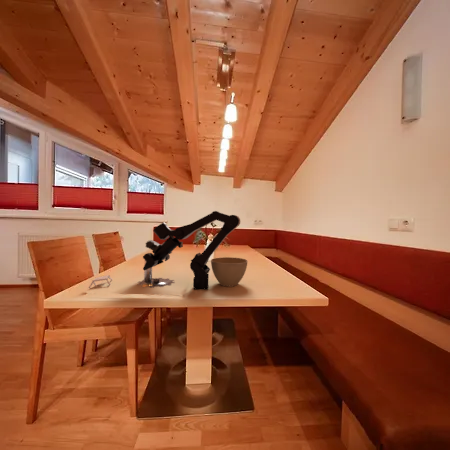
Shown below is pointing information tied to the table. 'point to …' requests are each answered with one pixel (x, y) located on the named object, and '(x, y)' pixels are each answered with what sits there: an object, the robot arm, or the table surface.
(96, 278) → the origami figure
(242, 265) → the flower pot
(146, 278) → the drive pin
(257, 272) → the table surface
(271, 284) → the table surface
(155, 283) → the sprocket plate
